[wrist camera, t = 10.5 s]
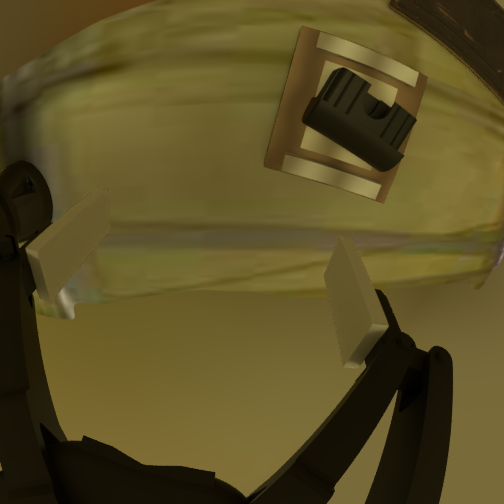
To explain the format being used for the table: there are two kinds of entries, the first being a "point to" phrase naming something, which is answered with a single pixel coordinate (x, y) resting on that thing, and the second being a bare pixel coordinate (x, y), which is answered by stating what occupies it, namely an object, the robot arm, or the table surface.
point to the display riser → (317, 145)
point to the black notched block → (359, 120)
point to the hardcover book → (464, 33)
